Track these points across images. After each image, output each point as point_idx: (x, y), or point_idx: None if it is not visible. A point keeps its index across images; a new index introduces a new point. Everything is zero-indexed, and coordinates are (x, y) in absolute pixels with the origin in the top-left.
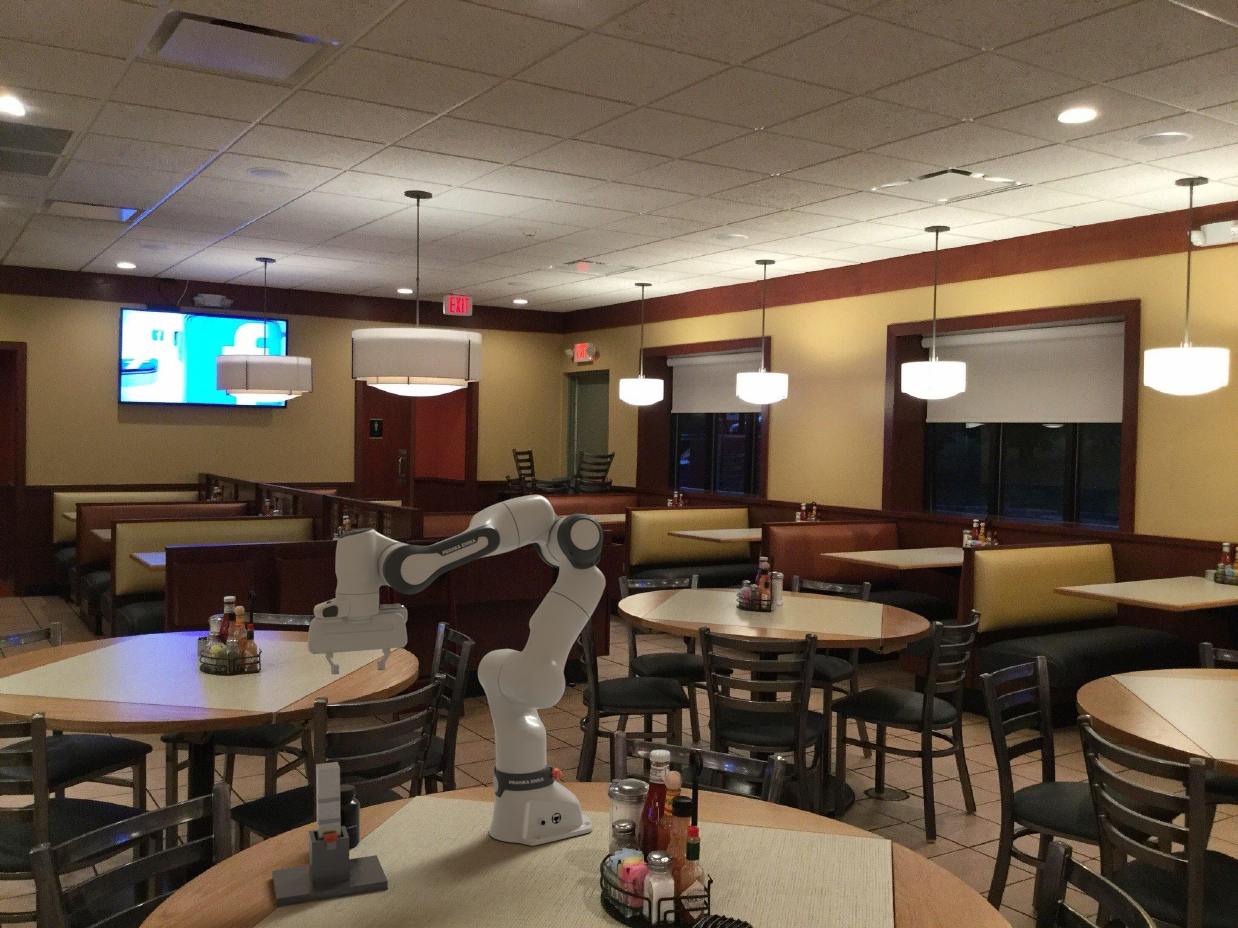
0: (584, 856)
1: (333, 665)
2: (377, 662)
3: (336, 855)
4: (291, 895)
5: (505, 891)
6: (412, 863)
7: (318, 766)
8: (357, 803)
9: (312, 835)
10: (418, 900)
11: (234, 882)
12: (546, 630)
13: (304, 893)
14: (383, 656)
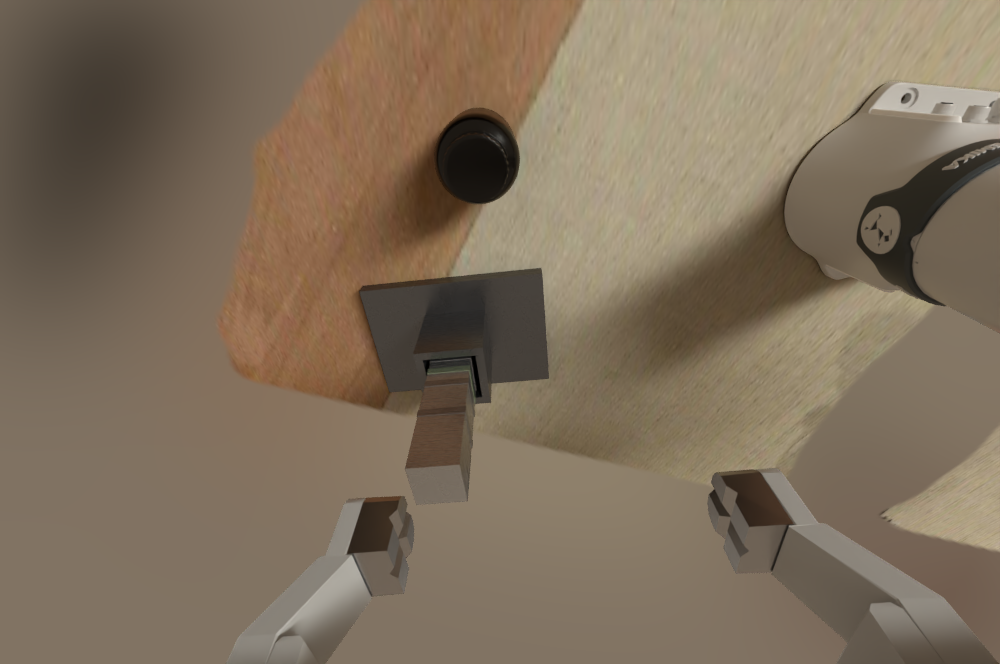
0: (875, 341)
1: (358, 603)
2: (740, 536)
3: None
4: (409, 387)
5: (701, 418)
6: (601, 290)
7: (413, 484)
8: (513, 178)
9: (423, 376)
10: (583, 413)
11: (300, 284)
12: None
13: None
14: (834, 575)
